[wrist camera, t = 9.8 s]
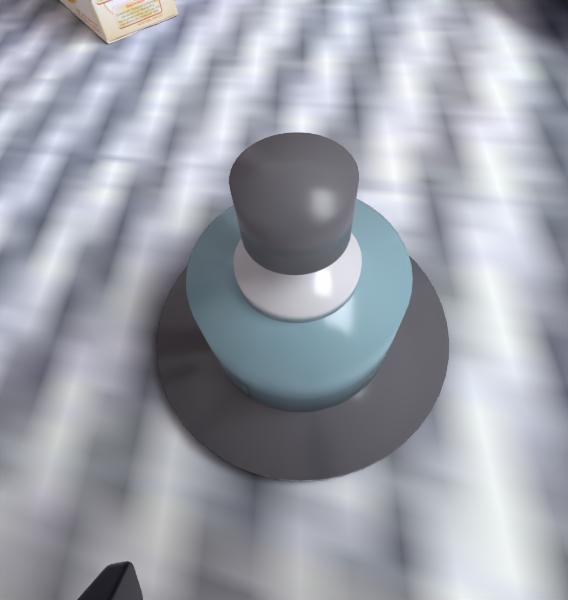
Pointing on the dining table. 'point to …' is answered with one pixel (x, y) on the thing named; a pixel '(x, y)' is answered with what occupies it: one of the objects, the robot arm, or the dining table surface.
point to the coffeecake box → (121, 15)
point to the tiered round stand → (303, 353)
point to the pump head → (295, 201)
